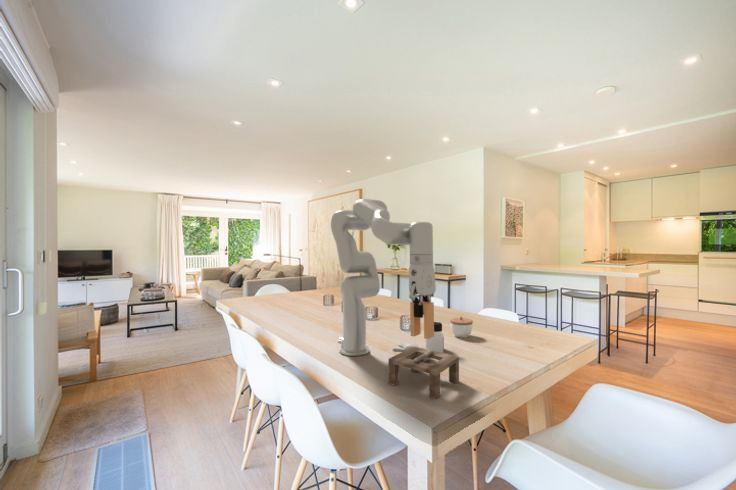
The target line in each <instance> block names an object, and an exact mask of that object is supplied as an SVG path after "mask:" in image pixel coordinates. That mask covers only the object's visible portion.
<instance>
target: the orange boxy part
mask: <svg viewBox="0 0 736 490" xmlns="http://www.w3.org/2000/svg"><path fill="white" fill-rule="evenodd" d="M409 303H410V304H409V305H410V306H409V307H410V308H409V309H410V313H409V314H410V336H411V337H416V336H419V335H421V334H422V333H421V328H422V327H421V325H422V324H421V318H419V317H414V305H413V301H410V302H409ZM434 304H435V303H434V302H433V301H431V302H424V301H422V305H423V313H424V315H423V332H424V333H423V335H424V337H423V338H424V339H425V340H426V339H430V338H432V337H434V321H435V316H434V315H435V310H434V309H435V307H434V306H435V305H434Z"/></svg>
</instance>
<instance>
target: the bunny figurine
mask: <svg viewBox="0 0 736 490" xmlns="http://www.w3.org/2000/svg"><path fill="white" fill-rule="evenodd" d="M397 345H398V347H396V346H394V347H392V352H394V353H402V352H404V351H406V350H408V349H410V348H412V347H418V348H423V349H427V348H426V347H424V346H419V345H418V344H416V343H408V344H403V343H398V344H397ZM427 350H429V349H427ZM410 359H411V358H410ZM431 360H432V358H428V357H425V358H423V359H422V360H420V362H423V363H426V362H427V361H431Z"/></svg>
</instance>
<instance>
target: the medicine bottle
mask: <svg viewBox="0 0 736 490" xmlns="http://www.w3.org/2000/svg"><path fill="white" fill-rule="evenodd" d="M444 339H445V337H444V332H443V323H442V322H440V321H435V320H434V337H432V338H430V339H425V348H427V349H429V350H433V351H436V352H440V353H445V351H444V349H445V346H444V345H445V342H444V341H445V340H444Z"/></svg>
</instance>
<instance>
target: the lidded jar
mask: <svg viewBox="0 0 736 490" xmlns="http://www.w3.org/2000/svg"><path fill="white" fill-rule="evenodd" d="M473 323H474V322H473V320H472V319H470V318H465V317H463V316H460V317H453V318H450V320H449V325H450V329H451V330H450V331H451V332H452V334H453V335H454V337H456V338H468V337H469V335H471V333H472V331H473Z"/></svg>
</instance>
